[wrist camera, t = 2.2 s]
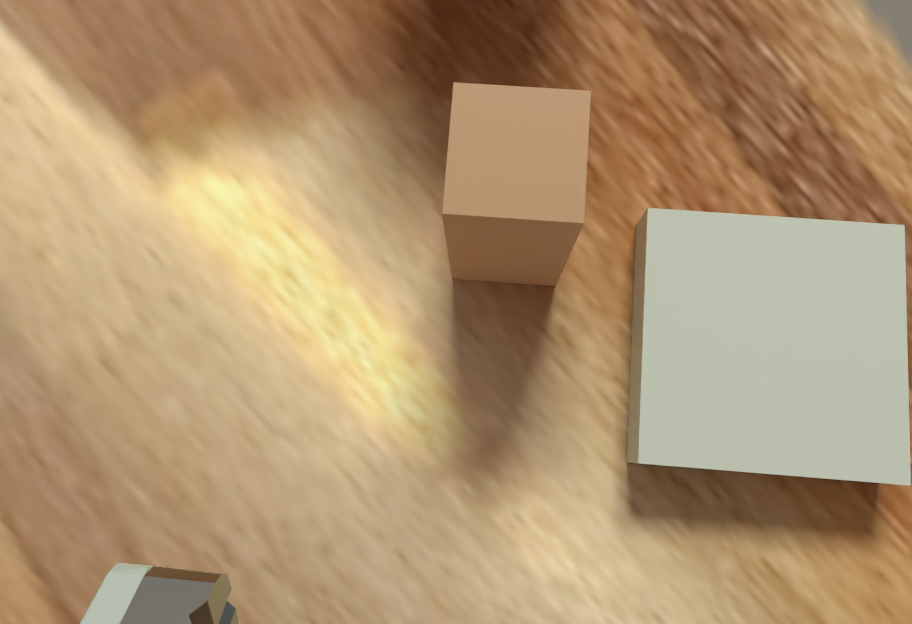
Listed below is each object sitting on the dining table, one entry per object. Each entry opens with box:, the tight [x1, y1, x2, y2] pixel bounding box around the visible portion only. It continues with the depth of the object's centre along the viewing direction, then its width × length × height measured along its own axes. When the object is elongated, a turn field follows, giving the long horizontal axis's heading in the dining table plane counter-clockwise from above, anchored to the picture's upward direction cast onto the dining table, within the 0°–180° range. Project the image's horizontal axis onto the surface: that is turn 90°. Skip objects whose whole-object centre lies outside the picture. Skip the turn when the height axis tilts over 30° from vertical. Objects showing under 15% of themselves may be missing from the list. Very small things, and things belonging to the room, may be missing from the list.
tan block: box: [442, 82, 591, 286], centre depth 31 cm, size 5×5×10 cm
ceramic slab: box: [627, 208, 911, 486], centre depth 34 cm, size 11×11×2 cm
